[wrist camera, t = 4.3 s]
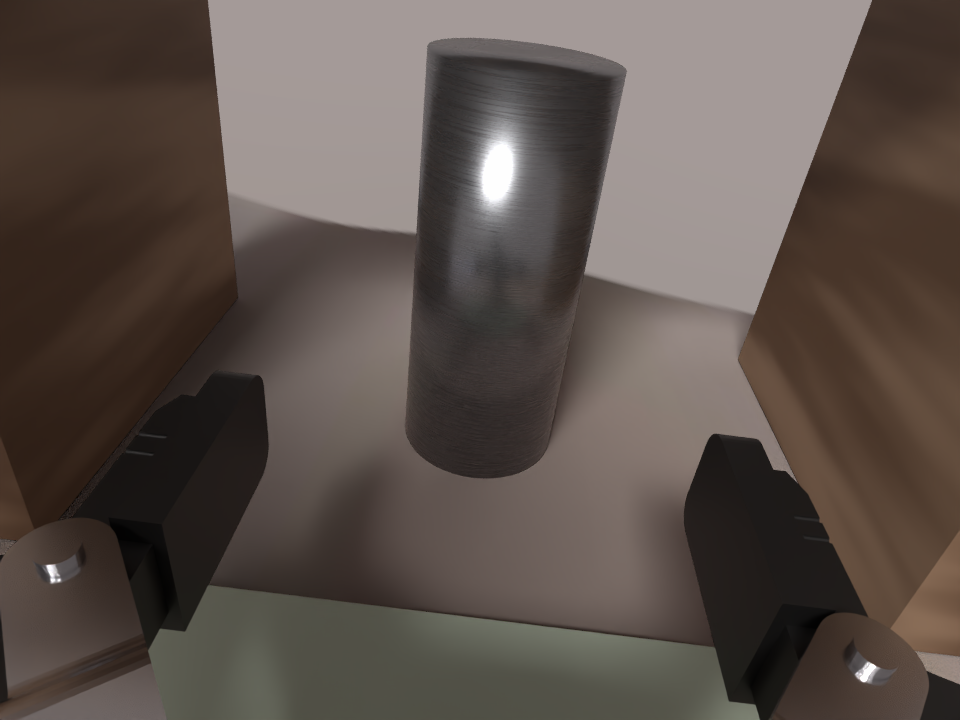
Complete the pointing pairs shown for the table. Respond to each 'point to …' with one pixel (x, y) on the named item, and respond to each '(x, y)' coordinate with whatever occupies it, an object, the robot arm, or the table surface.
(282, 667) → the mat
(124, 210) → the shelf
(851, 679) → the robot arm
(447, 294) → the canister
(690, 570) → the table surface
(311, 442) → the table surface
